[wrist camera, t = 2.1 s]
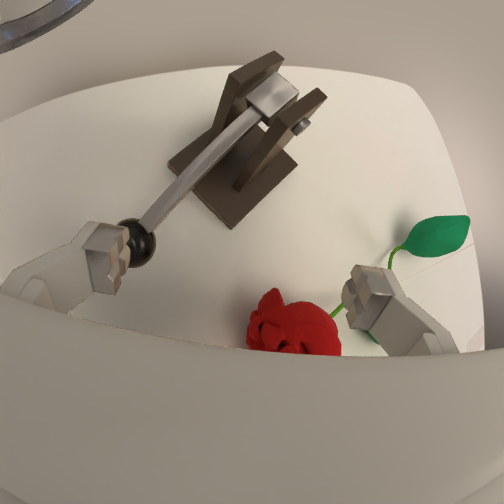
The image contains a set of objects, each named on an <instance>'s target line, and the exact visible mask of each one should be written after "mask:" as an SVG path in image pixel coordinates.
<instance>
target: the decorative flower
mask: <svg viewBox="0 0 504 504" xmlns="http://www.w3.org/2000/svg"><path fill="white" fill-rule="evenodd" d="M469 225H470V218H469V217H468V216H466V215H458V216H435V217H432V218H428V219H425V220H423V221H421V222H419V223H418V224H416V225H415V226H414V227H413V229H412V230H411V232H410V233H409V236H408V238H407V240H406V241H405V242H404V244H402V245H401V246H398V247H396V248H395V249H394V250H393V251H392V252H391V254H390V258H389V262H388V269H390V270H391V265H392V259H393V256H394V254H395V253H396V252H397V251H398V250H399V249H404V250H407V251H409V252H410V253H412V254H413V255H415V256H419V257H439V256H442V255H445V254H448V253H451V252H453V251H456V250H457V249H459V248H460V247H461V246H462V245H463V243H464V241H465V239H466V236H467V234H468V229H469ZM343 307H344V306H343V304H342V303H341V304H340V305H339V306H338V307H337V308H336V309H335V310H334V311H333V312H332V313H331V314H330V315H329V314H328V313H326V312H325V311H324V310H322V309H321V308H320V307H318V306H316V305H314V304H312V303H310V302H303V301H300V302H296V303H292V304H289V305H286V306H284V303H283V299H282V296H281V294H280V292H279V290H278V289H276V288H272V289H271V290H270V291H269V292H267V293H266V294H264V295H263V297H262V299H261V300H260V302H259V304H258V309H257V310H256V311H254V310H253V312H252V314H251V316H250V323H249V326H248V329H247V335H246V343H247V345H248V347H249V349H250V350H258V351H268V352H279V353H292V354H306V355H324V356H341V343H340V340H339V338H338V330H337V326H336V323H335V322H334V320H333V319H332V318H333V317H334V316H335V315H336V314H337V313H338V312H339V311H340V310H341V309H342V308H343ZM367 331H368V333H369V334H370V335H371V337H372V339H373V341H374V342H375V343H377V344H379V343H378V342H377V341H376V339H375V338H374V337H373V336H372V334H371V333H370V332H369V330H367ZM379 345H380V344H379Z"/></svg>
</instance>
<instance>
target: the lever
mask: <svg viewBox="0 0 504 504" xmlns="http://www.w3.org/2000/svg"><path fill="white" fill-rule="evenodd" d="M298 95H299V91H298V90H297V89H296V88H295V87H294V86H292V85H291V84H290V83H289V82H288V81H287V80H286V79H284V78H283V77H282V76H281V75H280V74H279V73H277V72H276V71H275V72H273V73H272V74H271V75H270V76H269V77H267V78H266V79H265V80H264V81H262V82H261V83H260V84H259V85H258V86H257V87H255V88H254V89H253V90H252V91H251V92H250V93H248V94H247V95H246V96H245V99H246V104H247V109H246V110H245V111H244V112H243V113H242V114H241V115H240V116H239V117H238V118H236V119H235V120H234V121H233V122H232V123H231V124H230V125H229V126H228V127H227V128H226V129H225V130H224V131H223V132H222V133H221V134H219V135H218V136H217V137H216V138H215V139H214V140H213V141H212V142H211V143H210V144H209V145H208V146H207V147H206V148H205V149H204V150H203V151H202V152H201V153H200V154H199V155H198V156H197V157H196V158H195V159H194V160H193V161H192V162H191V164H190V165H189V166H188V167H187V168H186V169H185V170H184V171H183V172H182V173H181V174H180V175H179V176H178V177H177V178H176V179H175V181H174V182H173V183H172V184H171V185H170V186H169V187H168V188H167V189H166V190H165V192H164V193H163V194H162V195H161V196H160V197H159V198H158V199H157V201H156V202H155V203H154V204H153V205H152V206H151V207H150V209H149V210H148V211H147V212H146V213H145V214H144V216H143V217H142V218H141V219H136V218H129V219H125V220H122V221H121V222H119V223H118V224H116V225H119V226H124V227H127V228H128V229H129V240H128V241H127V243H126V244H127V245H128V246H129V248H130V262H129V267H128V268H138V267H141V266H143V265H145V264H146V263H147V262H148V261H149V260H150V259H151V258H152V256H153V254H154V252H155V249H156V238H155V234H154V232H153V231H154V230H155V229H156V228H157V227H158V225H159V224H160V223H161V222H162V221H163V220H164V219H165V218H166V216H167V215H168V214H169V213H170V212H171V211H172V210H173V209H174V208H175V207H176V205H177V204H178V203H179V202H180V201H181V200H182V199H183V198H184V197H185V196H186V195H187V194H188V193H189V191H190V190H191V189H192V188H193V187H194V186H195V185H196V184H197V183H198V182H199V181H200V180H201V179H202V178H203V177H204V176H205V175H206V174H207V173H208V172H209V171H210V170H211V169H212V168H213V167H214V166H215V165H216V164H217V163H218V162H219V161H220V160H221V159H222V158H223V157H224V156H225V155H226V154H227V153H228V152H229V151H230V150H231V149H232V148H233V147H234V146H235V145H236V144H237V143H238V142H239V141H240V140H241V139H242V138H244V137H245V136H246V135H247V134H248V133H249V132H250V131H251V130H252V129H253V128H254V127H255V126H256V125H258V124H259V123H260V122H261V121H262V122H263V123H265V124H266V125H267V126H268V127H269V126H270V125H271V124H272V122H273V121H274V119H275V118H276V116H277V115H279V114H280V113H281V112H283V111H284V110H285V109H287V108H288V107H290V106H291V105H292V104H294V103H295V102H296V101H297V98H298Z"/></svg>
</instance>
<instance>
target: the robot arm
mask: <svg viewBox="0 0 504 504" xmlns="http://www.w3.org/2000/svg"><path fill="white" fill-rule="evenodd" d="M51 1H53V0H0V25H1V24H3V23H5V22H9V21H13V20H16V19H19V18H21V17H24V16H26V15H28V14H30V13H32V12H34V11H36V10H38V9H40V8H42V7H43V6H45V5H47V4H48V3H50V2H51ZM128 240H129V229H128V228H127V227H124V226H119V225H113V224H108V223H101V222H96V221H88V222H87V223H86V224H85V225H84V227H83V228H82V229H81V230H80V231H79V233H78V234H77V235H76V236H75V238H74V239H73V240H72V241H71V243H70V244H69V245H63V246H61V247H59V248H57V249H55V250H53V251H51V252H48V253H46V254H44V255H42V256H40V257H38V258H36V259H34V260H32V261H30V262H28V263H26V264H24V265H22V266H20V267H18V268H16V269H14V270H13V271H12V272H11V273H10V275H9V276H8V277H7V278H6V280H5V281H4V283H3V284H2V285H1V287H0V504H504V348H500V349H493V350H484V351H475V352H465V353H459V351H458V348H457V346H456V344H455V342H454V340H453V338H452V336H451V334H450V332H449V331H447V330H446V329H445V328H444V327H443V326H442V325H441V324H440V323H438V322H437V321H436V320H435V319H434V318H433V317H432V316H430V315H429V314H428V313H427V312H426V311H425V310H423V309H422V308H421V307H420V306H419V305H418V304H416V303H415V302H414V301H413V300H412V299H410V298H408V297H406V295H405V294H404V292H403V290H402V288H401V286H400V284H399V282H398V280H397V279H396V277H395V275H394V273H393V271H392V270H390V269H385V268H376V267H369V266H363V265H355V266H354V267H353V269H352V271H351V277H352V278H351V279H350V280H348V281H347V282H346V283H345V285H344V287H343V289H342V295H341V298H342V304H343V306H344V307H345V308H346V309H347V310H348V312H347V314H346V317H347V320H348V324H349V327H350V329H361V330H369V332H370V333H371V334H372V336H373V337H374V338H375V339H376V341H377V342H378V343H379V344H380V345H381V347H382V348H383V349H384V350H385V352H386V353H387V354H388V355H389V357H352V356H324V355H306V354H292V353H279V352H268V351H258V350H248V349H240V348H231V347H224V346H216V345H209V344H202V343H196V342H190V341H183V340H178V339H172V338H166V337H161V336H156V335H151V334H146V333H141V332H136V331H131V330H127V329H122V328H118V327H113V326H109V325H105V324H101V323H97V322H93V321H89V320H85V319H81V318H78V317H74V316H71V315H67V313H68V312H69V311H70V310H72V309H73V308H74V307H76V306H77V305H78V304H80V303H81V302H82V301H83V300H85V299H86V298H87V297H89V296H90V295H91V294H93V292H98V293H103V294H108V295H113V296H115V295H116V293H117V291H118V289H119V287H120V285H121V276H123V275H125V274H126V272H127V270H128V267H129V262H130V248H129V246H128V245H127V244H126V243H127V241H128Z"/></svg>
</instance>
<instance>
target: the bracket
mask: <svg viewBox="0 0 504 504" xmlns="http://www.w3.org/2000/svg"><path fill="white" fill-rule="evenodd" d="M283 60H284V58H283V57H282V56H281V55H279V54H278V53H277V52H276V51H272V52H270V53H268V54H266V55H264V56H262V57H260V58H258V59H256V60H254V61H252V62H250V63H248V64H247V65H244V66H243V67H241V68H239V69H237V70H235V71H233V72H232V73H230V74H229V75H228V78H227V81H226V84H225V87H224V90H223V93H222V96H221V100H220V103H219V106H218V109H217V112H216V116H215V119H214V122H213V125H212V128H210V129H209V130H208V131H206V132H205V133H204V134H202V135H201V136H200V137H199V138H197V139H196V140H195V141H193V142H192V143H191V144H189V145H188V146H187V147H186V148H184V149H183V150H182V151H181V152H179V153H178V154H177V155H176V156H174V157H173V158H172V159H171V160H170V161H168V167H169V168H170V169H171V170H172V171H173V172H174V173H175V174H176V175H177V176H179V175H180V174H181V173H182V172H183V171H184V170H185V169H186V168H187V167H188V166H189V165H190V164H191V162H192V161H193V160H194V159H195V158H196V157H197V156H198V155H199V154H200V153H201V152H202V151H203V150H204V149H205V148H206V147H207V146H208V145H209V144H210V143H211V142H212V141H213V140H214V139H215V138H216V137H217V136H218V135H219V134H221V133H222V132H223V131H224V130H225V129H226V128H227V127H228V126H229V125H230V124H231V123H232V122H233V121H234V120H235V119H236V118H238V117H239V116H240V115H241V114H242V113H243V112H244V111H245V110H246V109H247V104H246V99H245V96H246V95H247V94H248V93H250V92H251V91H252V90H253V89H254V88H255V87H257V86H258V85H259V84H260V83H261V82H262V81H264V80H265V79H266V78H267V77H269V76H270V75H271V74H272V73H273V72H275V71H276V72H277V71H278V69H279V67H280V66H281V64H282V62H283ZM326 99H327V96H326V95H325V94H324V93H323V92H322V91H321V90H320V89H319V88H315V89H314V90H312V91H311V92H310V93H308V94H307V95H305V96H304V97H302V98H301V99H299V100H298V101H297V102H295V103H294V104H292V105H291V106H290V107H288V108H287V109H285V110H284V111H283V112H281V113H280V114H279V115H277V116H276V118H275V119H274V121H273V122H272V124H271V125H270V127H269V128H268V130H267V131H266V133H265V132H264V131H263V130H262V129H261V128H260V127H259V126H258V125H256V126H255V127H254V128H253V129H252V130H251V131H250V132H249V133H248V134H247V135H246V136H245V137H244V138H242V139H241V140H240V141H239V142H238V143H237V144H236V145H235V146H234V147H233V148H232V149H231V150H230V151H229V152H228V153H227V154H226V155H225V156H224V157H223V158H222V159H221V160H220V161H219V162H218V163H217V164H216V165H215V166H214V167H213V168H212V169H211V170H210V171H209V172H208V173H207V174H206V175H205V176H204V177H203V178H202V179H201V180H200V181H199V182H198V183H197V184H196V185H195V186H194V187H193V188H192V189H191V190H192V191H193V192H194V193H195V194H196V195H197V196H198V197H199V198H200V199H201V200H202V201H203V202H204V203H205V204H206V205H207V206H208V207H209V208H210V209H211V210H212V211H213V212H214V213H215V214H216V215H217V216H218V217H219V218H220V219H221V220H222V221H223V222H224V223H225V224H226V225H227V226H228V227H229V228H230V229H231V230H232V229H233V228H234V227H235V226H236V225H237V224H238V223H239V222H240V221H241V220H242V219H243V218H244V217H245V216H246V215H247V214H248V213H249V212H250V211H251V210H252V209H253V208H254V207H255V206H256V205H257V204H258V203H259V202H260V201H261V200H262V199H263V198H264V197H265V196H266V195H267V194H268V193H269V192H270V191H271V190H272V189H273V188H274V187H276V186H277V185H278V184H279V183H280V182H281V181H282V180H283V179H284V178H285V177H286V176H287V175H288V174H289V173H290V172H291V171H292V170H293V169H294V168H295V167H296V166H297V165H298V164H297V163H296V162H295V161H294V160H293V159H292V158H291V157H290V156H289V155H288V154H287V153H286V152H285V151H284V150H283V148H284V147H285V146H286V145H287V143H288V142H289V141H290V140H291V139H292V138H293V136H294V135H295V136H298V135H299V134H301V133H302V132H303V131H304V130H305V129H306V128H307V127H308V126H309V125H310V124H311V122H310V121H309V120H308V119H309V118H310V117H311V116H312V115H313V113H314V112H315V111H316V110H317V109H318V108H319V107H320V106H321V104H322V103H323V102H324V101H325V100H326Z"/></svg>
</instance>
